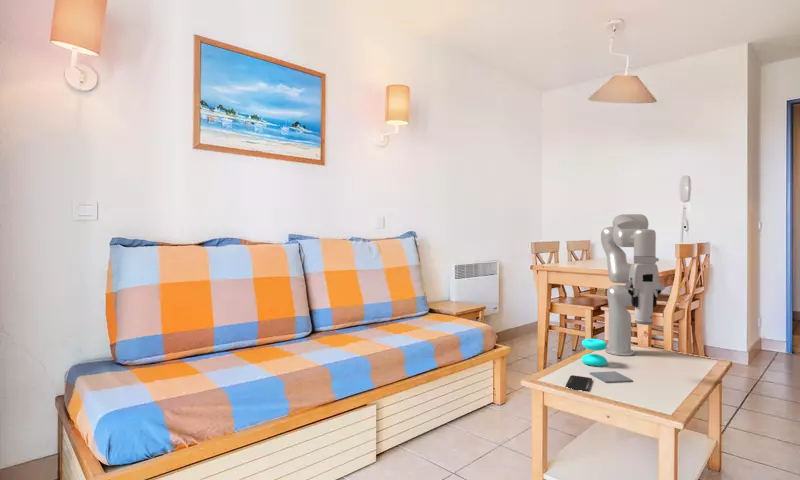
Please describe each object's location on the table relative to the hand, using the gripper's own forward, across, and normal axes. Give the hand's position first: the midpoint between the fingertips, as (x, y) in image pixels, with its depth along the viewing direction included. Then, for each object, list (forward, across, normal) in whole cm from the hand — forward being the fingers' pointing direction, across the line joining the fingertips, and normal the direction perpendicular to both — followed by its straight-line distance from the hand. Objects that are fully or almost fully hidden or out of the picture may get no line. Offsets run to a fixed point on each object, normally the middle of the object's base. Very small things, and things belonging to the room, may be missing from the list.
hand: (643, 306), depth 179 cm
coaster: (+28, +14, +2) cm, 31 cm away
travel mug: (+7, 0, 0) cm, 7 cm away
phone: (+28, +29, +10) cm, 41 cm away
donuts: (+28, +12, -17) cm, 35 cm away
